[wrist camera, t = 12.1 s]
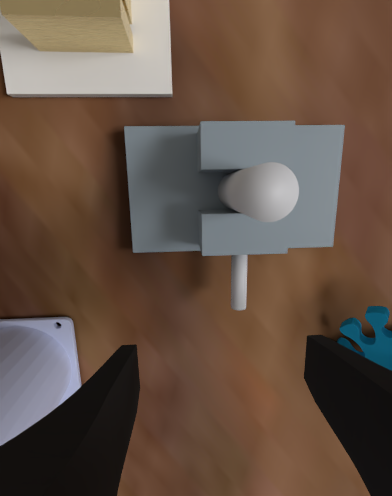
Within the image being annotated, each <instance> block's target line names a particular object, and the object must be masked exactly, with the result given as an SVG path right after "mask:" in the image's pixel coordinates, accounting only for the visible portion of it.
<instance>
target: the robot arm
mask: <svg viewBox="0 0 392 496" xmlns="http://www.w3.org/2000/svg"><path fill="white" fill-rule="evenodd" d="M56 322H59V323H60V324H61V326H58V325H57V324H56ZM304 379H305V381H306V383H307V385H308V388H309V390H310V392H311V394H312V396H313V398H314V400H315V402H316V404H317V405H318V407H319V409H320V410H321V412H322V413H323V415H324V417H325V418H326V420H327V422H328V423H329V425H330V426H331V428H332V429H333V431H334V433H335V434H336V436H337V437H338V439H339V441H340V442H341V444H342V445H343V447H344V448H345V450H346V452H347V453H348V455H349V456H350V458H351V460H352V462H353V463H354V465H355V467H356V468H357V470H358V472H359V474H360V476H361V478H362V480H363V481H364V483H365V485H366V487H367V489H368V491H369V493H370V495H371V496H392V371H391V370H389V369H387V368H385V367H383V366H381V365H379V364H377V363H375V362H373V361H371V360H369V359H367V358H365V357H363V356H362V355H360V354H358V353H356V352H354V351H352V350H350V349H348V348H347V347H345V346H343V345H341V344H339V343H337V342H335V341H333V340H331V339H329V338H327V337H325V336H323V335H310V336H307V345H306V358H305V371H304ZM139 391H140V381H139V369H138V357H137V345H122V346H121V347H120V348H119V349H118V350H117V351H116V352H115V353H114V354H113V355H112V356H111V357H110V358H109V359H108V360H107V361H106V362H105V363H104V365H103V366H102V367H101V368H100V369H99V370H98V371H97V372H96V373H95V374H94V375H93V376H92V377H91V378H90V379H89V380H88V381H87V382H86V383H84V384H83V385H82V386H81V378H80V371H79V363H78V355H77V348H76V340H75V332H74V325H73V321H72V319H71V318H69V317H49V318H25V319H1V320H0V496H117V492H118V487H119V482H120V477H121V473H122V469H123V465H124V461H125V457H126V453H127V449H128V445H129V441H130V437H131V433H132V429H133V425H134V421H135V417H136V413H137V406H138V399H139Z"/></svg>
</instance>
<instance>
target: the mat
mask: <svg viewBox="0 0 392 496" xmlns="http://www.w3.org/2000/svg"><path fill="white" fill-rule="evenodd" d="M131 13H132V24H130V27H131V31H132V34H133V52H134V53H103V52H49V51H39V50H38V49H37V48H36V47H35V46H34V45H33V44H32V43H31V42H30V41H29V40H28V39H26V38H25V37H24V36H23V35H22V34H21V33H20V32H19V31H18V30H17V29H16V28H15V27H14V26H13V25H12V24H11V23H10V22H9V21H8V20H7V19H6V18H5V17H4V16H3V15H2V14H1V8H0V53H1V59H2V65H3V72H4V78H5V84H6V91H7V94H8V95H10V96H12V97H172V72H171V42H170V13H169V0H131Z"/></svg>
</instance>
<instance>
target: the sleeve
mask: <svg viewBox="0 0 392 496" xmlns="http://www.w3.org/2000/svg"><path fill="white" fill-rule="evenodd" d="M0 8H1V14H2V15H3V16H4V17H5V18H6V19H7V20H8V21H9V22H10V23H11V24H12V25H13V26H14V27H15V28H16V29H17V30H18V31H19V32H20V33H21V34H22V35H23V36H24V37H25V38H26V39H28V40H29V41H30V42H31V43H32V44H33V45H34V46H35V47H36V48H37V49H38V50H39V51H49V52H103V53H134V52H133V34H132V31H131V27H130V24H132V13H131V0H0Z"/></svg>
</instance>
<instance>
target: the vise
mask: <svg viewBox="0 0 392 496" xmlns="http://www.w3.org/2000/svg"><path fill="white" fill-rule="evenodd" d="M344 128H345V125H295V121H201V122H200V125H199V126H124V132H125V146H126V160H127V174H128V188H129V202H130V216H131V230H132V244H133V253H138V252H172V251H201V253H202V256H216V255H232V265H231V308H232V309H234V310H244V309H246V291H247V255H248V254H281V253H287V249H288V248H306V247H333V240H334V230H335V220H336V210H337V200H338V189H339V179H340V169H341V159H342V149H343V139H344Z"/></svg>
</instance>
